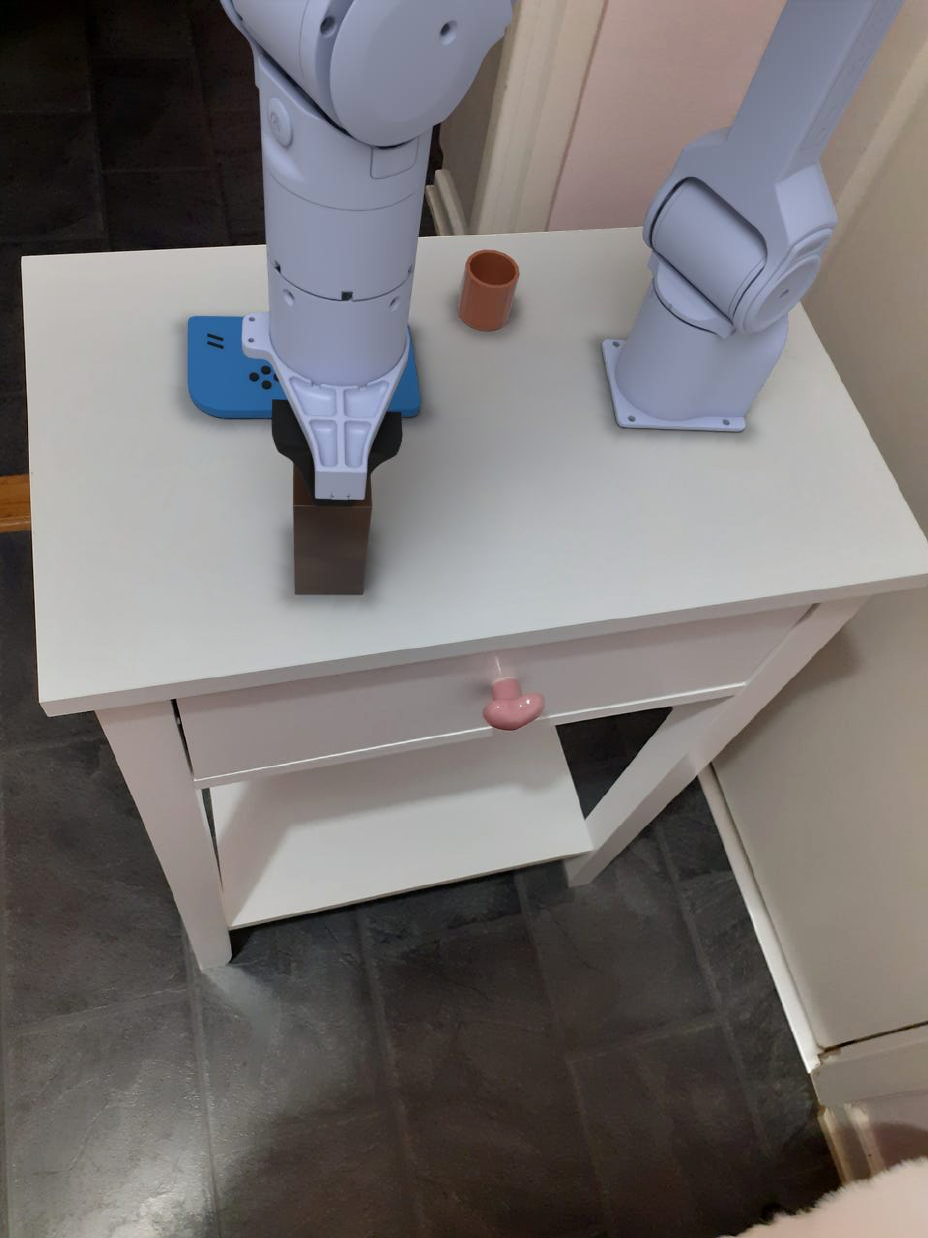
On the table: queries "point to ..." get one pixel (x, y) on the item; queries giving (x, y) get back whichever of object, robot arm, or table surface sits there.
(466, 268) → the pen cup
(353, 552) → the tall brown box
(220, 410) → the handheld gaming device
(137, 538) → the table surface
